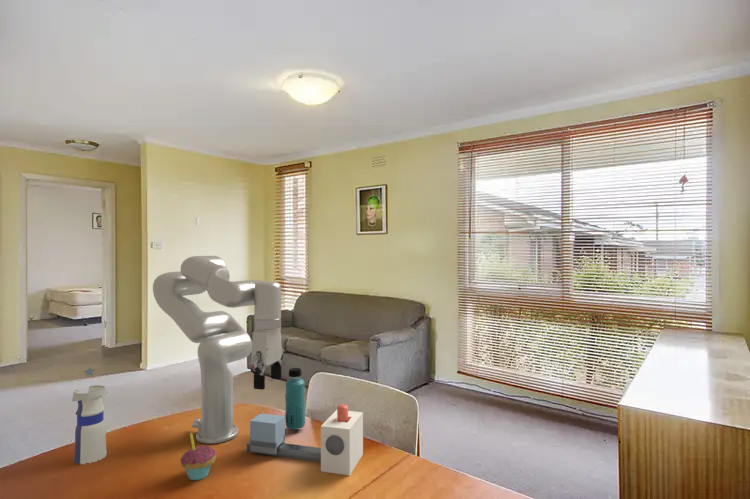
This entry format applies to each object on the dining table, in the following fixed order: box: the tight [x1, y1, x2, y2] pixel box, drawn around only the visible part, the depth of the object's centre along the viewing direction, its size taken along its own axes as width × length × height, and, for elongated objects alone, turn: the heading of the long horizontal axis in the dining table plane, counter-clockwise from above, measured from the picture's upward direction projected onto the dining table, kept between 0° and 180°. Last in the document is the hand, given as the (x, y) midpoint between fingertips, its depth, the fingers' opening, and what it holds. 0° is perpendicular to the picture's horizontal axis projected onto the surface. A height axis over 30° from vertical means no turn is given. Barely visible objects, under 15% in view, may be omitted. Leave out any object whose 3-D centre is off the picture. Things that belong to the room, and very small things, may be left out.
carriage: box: [249, 412, 286, 455], centre depth 124 cm, size 8×6×9 cm
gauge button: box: [336, 403, 349, 422], centre depth 118 cm, size 3×3×7 cm
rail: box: [245, 440, 321, 463], centre depth 122 cm, size 25×3×2 cm, turn 75°
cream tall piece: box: [71, 366, 108, 465], centre depth 121 cm, size 8×8×25 cm
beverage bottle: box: [284, 367, 306, 430], centre depth 139 cm, size 6×7×20 cm
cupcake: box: [180, 430, 217, 481], centre depth 111 cm, size 9×8×12 cm
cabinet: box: [320, 409, 364, 476], centre depth 118 cm, size 8×12×12 cm, turn 165°
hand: (268, 383), depth 124 cm, fingers open, 9 cm apart
